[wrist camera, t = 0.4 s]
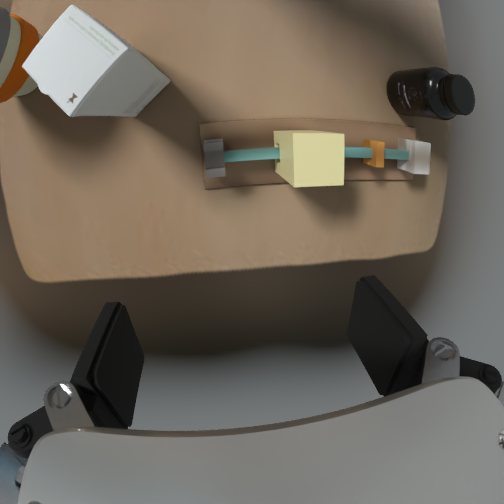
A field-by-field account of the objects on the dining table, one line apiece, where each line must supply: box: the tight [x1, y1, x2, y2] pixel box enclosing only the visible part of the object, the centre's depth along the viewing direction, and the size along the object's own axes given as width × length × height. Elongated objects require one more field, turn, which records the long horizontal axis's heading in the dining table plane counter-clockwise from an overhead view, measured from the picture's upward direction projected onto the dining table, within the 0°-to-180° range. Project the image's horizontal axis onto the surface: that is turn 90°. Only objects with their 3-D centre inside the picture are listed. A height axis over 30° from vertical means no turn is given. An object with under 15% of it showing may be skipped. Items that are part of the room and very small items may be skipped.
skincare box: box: [22, 5, 170, 117], centre depth 18 cm, size 8×7×16 cm
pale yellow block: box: [274, 130, 344, 187], centre depth 27 cm, size 5×5×8 cm
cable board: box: [199, 118, 431, 189], centre depth 30 cm, size 8×30×5 cm, turn 94°
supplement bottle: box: [387, 67, 475, 120], centre depth 24 cm, size 7×7×12 cm
